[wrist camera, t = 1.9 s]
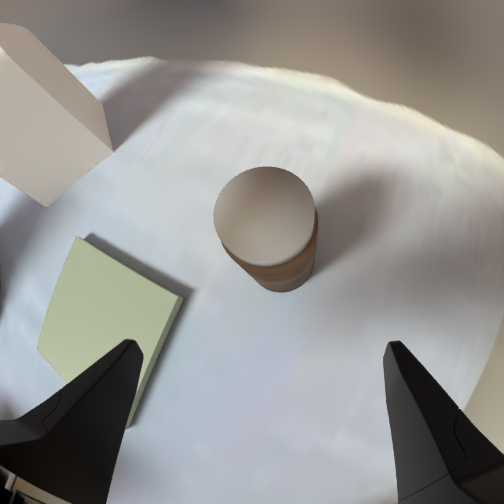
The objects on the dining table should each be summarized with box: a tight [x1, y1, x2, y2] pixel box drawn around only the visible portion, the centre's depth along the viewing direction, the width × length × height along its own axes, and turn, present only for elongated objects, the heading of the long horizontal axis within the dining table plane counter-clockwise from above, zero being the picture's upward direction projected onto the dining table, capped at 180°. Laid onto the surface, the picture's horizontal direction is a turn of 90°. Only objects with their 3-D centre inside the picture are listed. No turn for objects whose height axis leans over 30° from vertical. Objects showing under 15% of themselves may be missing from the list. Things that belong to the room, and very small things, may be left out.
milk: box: [0, 23, 114, 208], centre depth 18 cm, size 12×12×26 cm
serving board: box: [36, 236, 184, 430], centre depth 23 cm, size 14×14×1 cm
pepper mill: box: [214, 167, 318, 292], centre depth 17 cm, size 5×5×10 cm
